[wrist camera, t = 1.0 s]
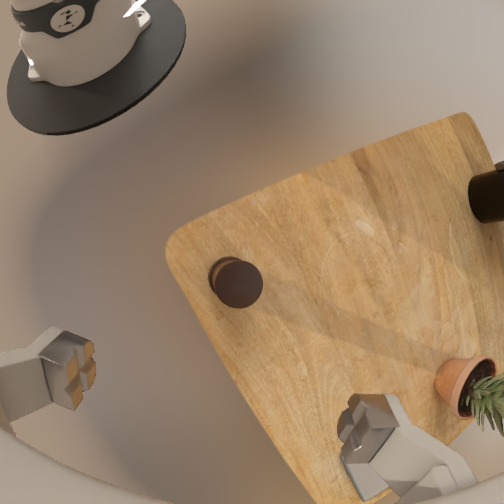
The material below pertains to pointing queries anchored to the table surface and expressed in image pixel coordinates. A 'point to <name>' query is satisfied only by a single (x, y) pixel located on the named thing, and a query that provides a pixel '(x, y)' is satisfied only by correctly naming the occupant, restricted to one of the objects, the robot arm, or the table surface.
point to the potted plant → (472, 389)
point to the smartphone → (365, 480)
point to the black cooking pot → (488, 195)
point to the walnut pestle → (235, 282)
